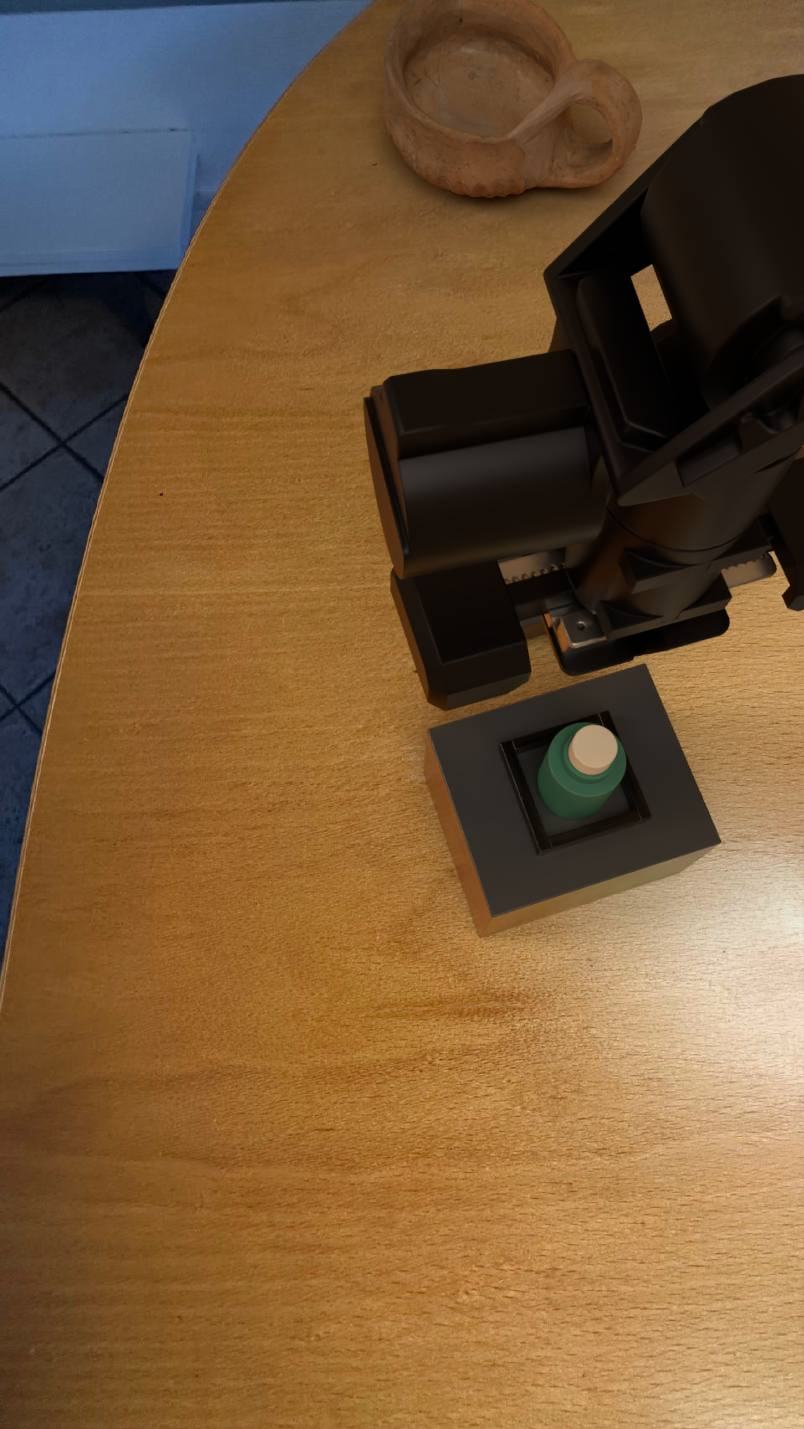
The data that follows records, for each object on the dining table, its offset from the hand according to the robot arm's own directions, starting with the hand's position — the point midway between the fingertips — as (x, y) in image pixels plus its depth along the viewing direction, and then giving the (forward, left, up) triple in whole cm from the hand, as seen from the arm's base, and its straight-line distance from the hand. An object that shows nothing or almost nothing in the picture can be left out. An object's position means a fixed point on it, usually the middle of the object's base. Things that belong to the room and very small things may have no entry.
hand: (594, 653), depth 50 cm
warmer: (+2, +5, -13) cm, 14 cm away
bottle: (+2, +5, -5) cm, 7 cm away
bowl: (-12, -42, -13) cm, 46 cm away
